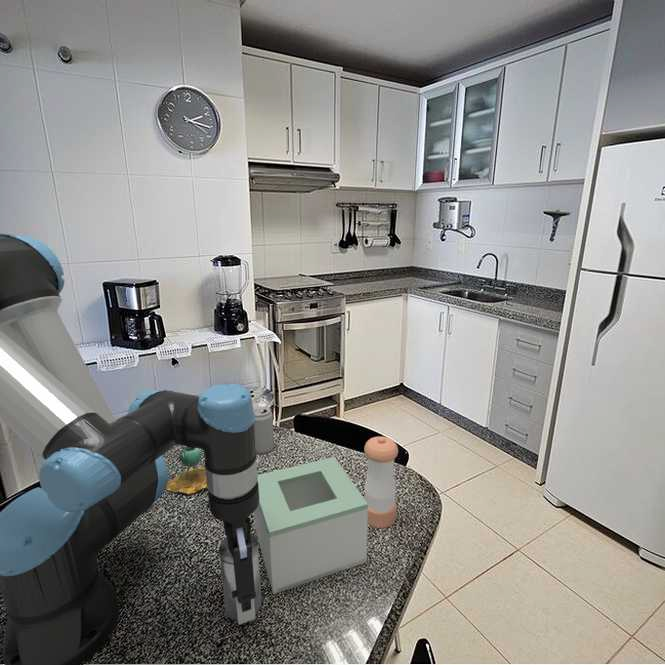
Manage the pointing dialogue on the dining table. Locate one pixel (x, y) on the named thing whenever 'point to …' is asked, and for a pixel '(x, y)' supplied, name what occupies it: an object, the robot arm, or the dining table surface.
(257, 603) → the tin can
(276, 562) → the caddy
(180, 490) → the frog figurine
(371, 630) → the dining table surface
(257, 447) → the beverage can
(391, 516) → the pepper shaker
